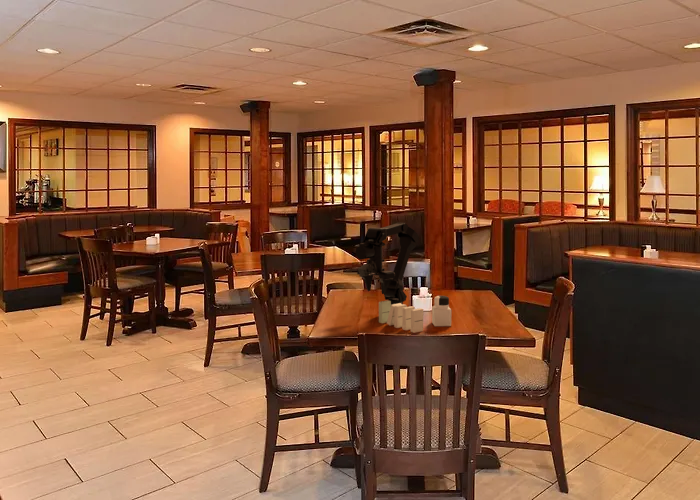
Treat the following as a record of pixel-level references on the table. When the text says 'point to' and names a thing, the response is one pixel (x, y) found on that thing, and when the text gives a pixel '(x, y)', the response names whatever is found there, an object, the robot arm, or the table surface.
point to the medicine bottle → (441, 311)
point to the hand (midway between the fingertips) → (375, 292)
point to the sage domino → (384, 311)
